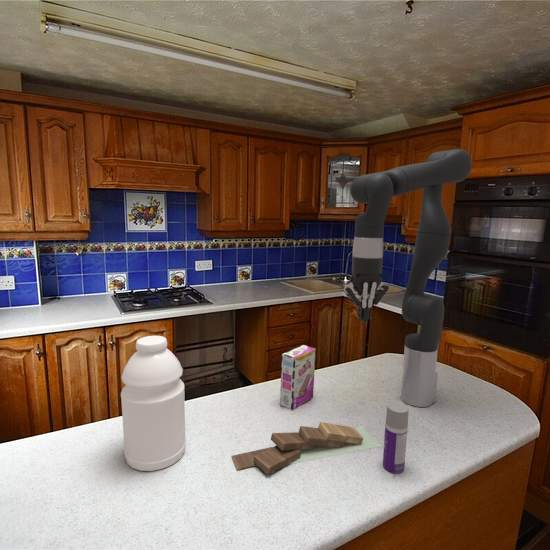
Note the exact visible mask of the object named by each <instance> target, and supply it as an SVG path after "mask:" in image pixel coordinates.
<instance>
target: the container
mask: <svg viewBox="0 0 550 550" xmlns="http://www.w3.org/2000/svg"><path fill="white" fill-rule="evenodd" d="M408 426H409V407H408V406H407V405H406V404H404V403H402V402H397V401H394V402H389V403H387V406H386V417H385V426H384V438H383V453H382V468H383V469H384V470H385V472H387V473H389V474H392V475H401V474H403V473H404V471H405V462H406V451H407V450H406V449H407V439H408Z"/></svg>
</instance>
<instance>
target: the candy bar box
mask: <svg viewBox="0 0 550 550" xmlns="http://www.w3.org/2000/svg"><path fill="white" fill-rule="evenodd" d="M316 351H317V350H316V347H311V346H308V345H305V344H302V345H300V346H298V347H296V348H293V349H291V350H288V351H286V352H284V353H282V354H281V368H280V369H281V371H280V372H281V373H280V393H279V394H280V396H279V398H280V399H279V400H280V401H279V402H280V403H279V406H280V407H282V408H285V409H287V410H290V411H294V410H296V409H298V407H301V406H302V405H304V404H306V403H307V402H308V401H310V400H311V399H313V398H314V385H315V384H314V383H315V366H316Z"/></svg>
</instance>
